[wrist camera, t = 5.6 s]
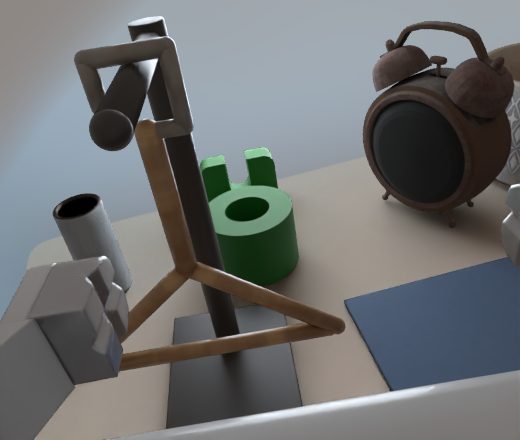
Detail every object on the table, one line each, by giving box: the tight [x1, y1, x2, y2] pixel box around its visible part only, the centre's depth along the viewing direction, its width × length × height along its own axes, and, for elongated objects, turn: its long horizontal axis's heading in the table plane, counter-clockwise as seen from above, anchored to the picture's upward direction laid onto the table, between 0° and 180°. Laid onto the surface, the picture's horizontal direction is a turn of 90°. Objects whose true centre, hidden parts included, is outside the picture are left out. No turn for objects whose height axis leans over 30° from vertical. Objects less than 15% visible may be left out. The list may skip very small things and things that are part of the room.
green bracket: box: [200, 147, 298, 287], centre depth 53 cm, size 18×9×6 cm, turn 8°
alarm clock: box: [363, 21, 515, 228], centre depth 49 cm, size 14×7×20 cm, turn 40°
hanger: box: [74, 37, 345, 371], centre depth 25 cm, size 1×17×19 cm, turn 95°
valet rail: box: [89, 17, 302, 429], centre depth 29 cm, size 18×10×27 cm, turn 5°
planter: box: [53, 194, 132, 292], centre depth 48 cm, size 4×4×10 cm
